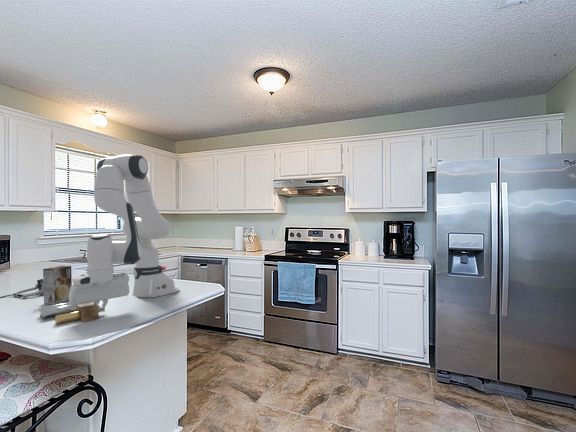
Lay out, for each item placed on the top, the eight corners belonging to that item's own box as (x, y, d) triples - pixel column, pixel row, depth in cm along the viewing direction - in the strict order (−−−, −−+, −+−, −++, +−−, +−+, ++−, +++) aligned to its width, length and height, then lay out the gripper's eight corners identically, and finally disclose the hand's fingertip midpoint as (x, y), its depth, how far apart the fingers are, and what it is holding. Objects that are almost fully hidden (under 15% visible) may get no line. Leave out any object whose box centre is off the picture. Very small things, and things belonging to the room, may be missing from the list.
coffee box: (61, 298, 150) (61, 265, 150) (72, 299, 149) (72, 265, 149) (43, 303, 141) (42, 268, 141) (54, 304, 140) (54, 269, 140)
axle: (96, 314, 121) (96, 306, 121) (98, 316, 119) (98, 308, 118) (55, 323, 111) (55, 314, 111) (56, 325, 109) (56, 316, 109)
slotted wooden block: (91, 316, 122) (91, 301, 122) (98, 322, 115) (98, 306, 115) (76, 320, 119) (76, 304, 119) (83, 326, 112) (82, 309, 112)
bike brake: (47, 287, 169) (0, 302, 152) (45, 275, 168) (-3, 288, 151) (60, 291, 162) (12, 306, 145) (57, 278, 161) (9, 292, 144)
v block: (76, 312, 128) (76, 300, 128) (81, 316, 123) (81, 303, 123) (40, 319, 120) (40, 306, 120) (43, 324, 115) (43, 310, 115)
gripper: (125, 271, 130) (126, 304, 130) (67, 279, 115) (67, 316, 115) (131, 273, 126) (132, 307, 126) (71, 281, 111) (72, 320, 111)
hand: (100, 311), depth 120 cm, fingers closed
